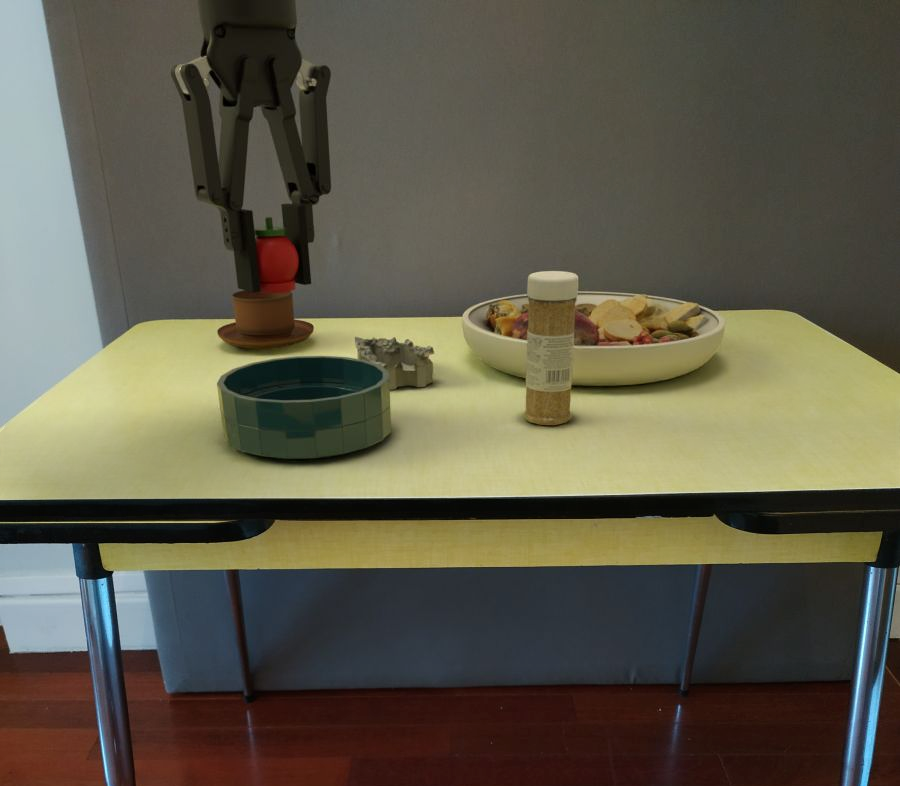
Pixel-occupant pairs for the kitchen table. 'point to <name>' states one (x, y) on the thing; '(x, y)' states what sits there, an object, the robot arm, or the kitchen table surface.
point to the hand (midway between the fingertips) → (274, 285)
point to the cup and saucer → (264, 321)
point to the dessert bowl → (305, 406)
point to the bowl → (603, 337)
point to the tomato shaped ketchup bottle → (275, 259)
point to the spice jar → (550, 346)
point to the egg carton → (398, 360)
